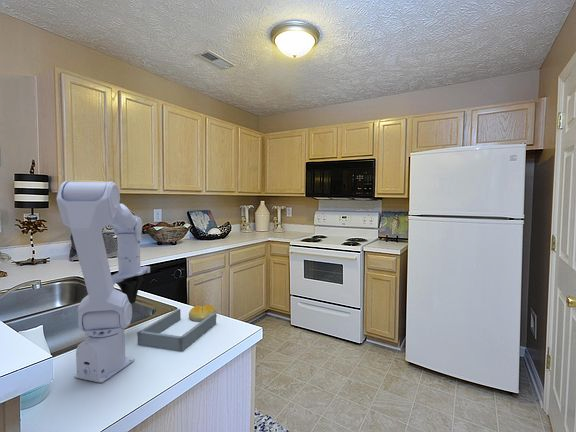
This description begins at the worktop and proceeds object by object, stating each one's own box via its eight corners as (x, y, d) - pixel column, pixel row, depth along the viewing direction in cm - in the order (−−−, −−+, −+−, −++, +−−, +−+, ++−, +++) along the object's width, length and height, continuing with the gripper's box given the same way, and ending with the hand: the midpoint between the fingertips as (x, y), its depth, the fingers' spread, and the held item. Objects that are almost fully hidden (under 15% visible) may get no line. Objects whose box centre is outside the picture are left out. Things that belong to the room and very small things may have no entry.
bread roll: (190, 313, 105) (190, 302, 105) (216, 312, 106) (216, 301, 106) (186, 323, 97) (186, 311, 96) (215, 321, 98) (215, 309, 98)
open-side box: (182, 351, 79) (182, 338, 78) (137, 344, 82) (137, 332, 82) (216, 323, 96) (216, 312, 96) (177, 319, 100) (177, 308, 99)
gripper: (120, 262, 79) (122, 313, 80) (157, 253, 93) (159, 296, 94) (99, 261, 81) (101, 310, 82) (138, 251, 95) (140, 294, 96)
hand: (130, 302), depth 88 cm, fingers closed
